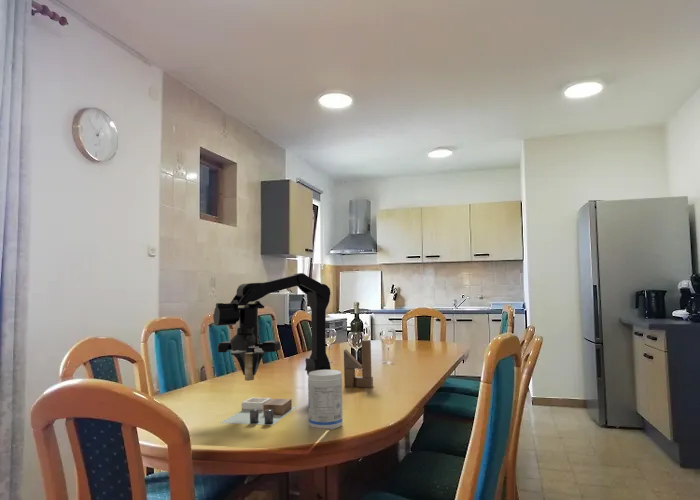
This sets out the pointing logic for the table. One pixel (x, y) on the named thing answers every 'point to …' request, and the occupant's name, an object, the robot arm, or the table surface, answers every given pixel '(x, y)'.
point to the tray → (254, 403)
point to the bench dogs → (255, 416)
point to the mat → (244, 418)
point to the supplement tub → (325, 399)
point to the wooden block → (358, 367)
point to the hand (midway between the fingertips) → (249, 374)
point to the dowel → (249, 367)
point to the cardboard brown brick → (279, 406)
